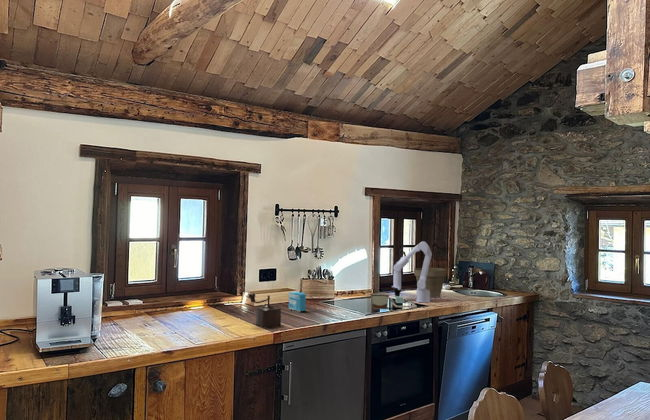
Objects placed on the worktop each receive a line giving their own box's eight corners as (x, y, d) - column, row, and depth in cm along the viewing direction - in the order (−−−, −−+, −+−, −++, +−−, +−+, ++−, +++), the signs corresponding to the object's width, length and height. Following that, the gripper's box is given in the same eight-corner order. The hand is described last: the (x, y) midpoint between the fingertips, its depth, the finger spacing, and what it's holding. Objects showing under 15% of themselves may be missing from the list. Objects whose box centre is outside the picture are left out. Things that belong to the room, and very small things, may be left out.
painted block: (402, 301, 347) (402, 296, 347) (403, 303, 340) (403, 297, 340) (395, 301, 348) (395, 296, 348) (396, 303, 341) (396, 297, 341)
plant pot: (413, 298, 364) (413, 269, 365) (414, 293, 388) (414, 267, 389) (446, 299, 358) (446, 270, 359) (445, 294, 383) (445, 267, 383)
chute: (407, 301, 350) (407, 299, 350) (416, 307, 323) (416, 305, 323) (388, 301, 348) (388, 299, 348) (396, 307, 322) (396, 305, 322)
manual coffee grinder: (271, 322, 270) (271, 290, 271) (281, 325, 261) (281, 293, 262) (246, 325, 261) (247, 292, 262) (256, 329, 252) (256, 295, 253)
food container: (388, 307, 321) (389, 292, 321) (389, 309, 315) (389, 294, 315) (370, 307, 322) (370, 292, 323) (370, 308, 316) (370, 293, 317)
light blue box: (288, 310, 308) (288, 291, 309) (293, 309, 311) (294, 291, 312) (300, 312, 300) (300, 293, 300) (305, 312, 303) (305, 293, 303)
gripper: (389, 279, 358) (389, 297, 358) (394, 281, 344) (394, 300, 343) (399, 279, 359) (399, 297, 358) (403, 281, 344) (403, 300, 344)
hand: (397, 298), depth 351 cm, fingers closed
